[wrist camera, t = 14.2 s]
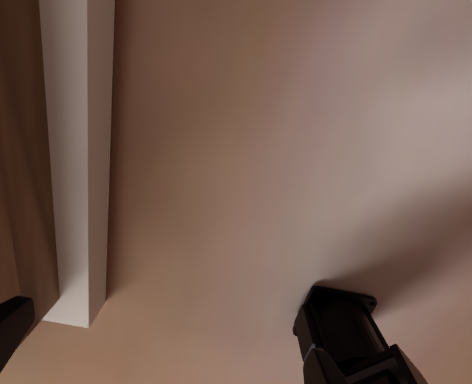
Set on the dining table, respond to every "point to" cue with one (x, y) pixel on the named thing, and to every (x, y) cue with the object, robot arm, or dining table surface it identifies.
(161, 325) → the dining table surface
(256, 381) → the dining table surface
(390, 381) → the robot arm
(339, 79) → the dining table surface
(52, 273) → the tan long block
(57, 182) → the panel
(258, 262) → the dining table surface
